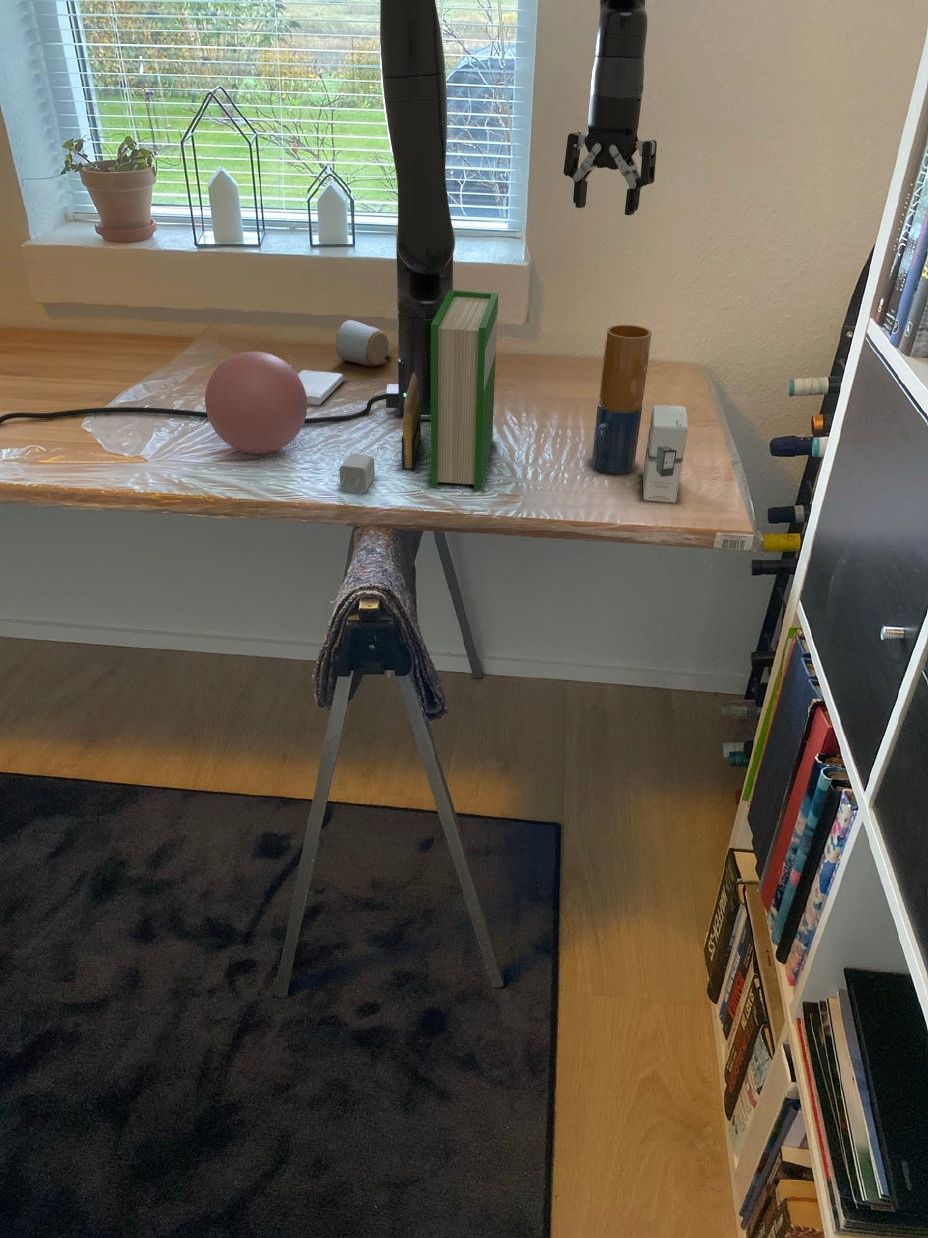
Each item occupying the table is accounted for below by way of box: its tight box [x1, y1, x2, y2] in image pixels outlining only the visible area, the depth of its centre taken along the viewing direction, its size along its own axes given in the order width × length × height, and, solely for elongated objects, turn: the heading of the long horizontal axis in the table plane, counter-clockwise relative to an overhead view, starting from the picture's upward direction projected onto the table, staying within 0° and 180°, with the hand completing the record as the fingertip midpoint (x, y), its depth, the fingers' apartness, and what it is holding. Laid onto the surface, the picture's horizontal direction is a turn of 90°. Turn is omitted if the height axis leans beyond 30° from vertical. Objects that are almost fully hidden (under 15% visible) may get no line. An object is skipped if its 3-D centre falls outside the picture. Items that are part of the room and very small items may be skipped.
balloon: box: [204, 351, 308, 455], centre depth 146 cm, size 15×20×15 cm
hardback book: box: [430, 289, 499, 492], centre depth 139 cm, size 18×7×24 cm, turn 173°
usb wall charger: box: [338, 453, 376, 494], centre depth 136 cm, size 4×7×4 cm, turn 168°
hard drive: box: [297, 369, 344, 406], centre depth 170 cm, size 2×8×12 cm
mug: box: [591, 401, 643, 476], centre depth 142 cm, size 10×7×10 cm
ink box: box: [642, 404, 689, 504], centre depth 136 cm, size 9×5×12 cm, turn 172°
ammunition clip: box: [401, 372, 422, 471], centre depth 144 cm, size 11×2×12 cm, turn 177°
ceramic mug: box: [335, 319, 391, 367], centre depth 183 cm, size 11×8×8 cm
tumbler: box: [598, 324, 653, 412], centre depth 138 cm, size 6×6×11 cm
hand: (604, 210), depth 146 cm, fingers open, 8 cm apart
